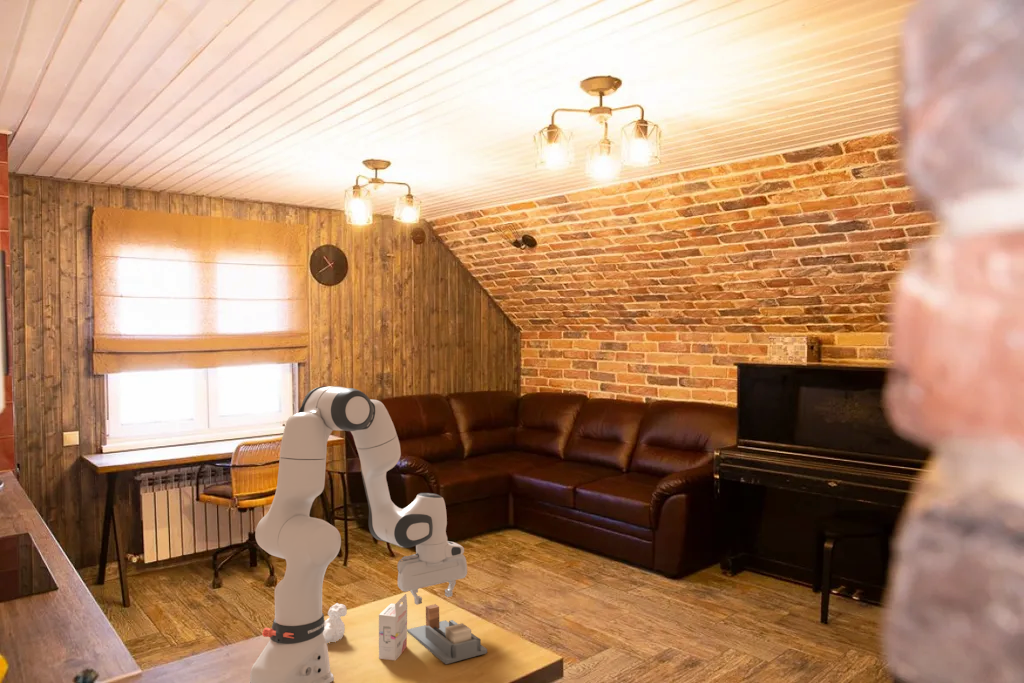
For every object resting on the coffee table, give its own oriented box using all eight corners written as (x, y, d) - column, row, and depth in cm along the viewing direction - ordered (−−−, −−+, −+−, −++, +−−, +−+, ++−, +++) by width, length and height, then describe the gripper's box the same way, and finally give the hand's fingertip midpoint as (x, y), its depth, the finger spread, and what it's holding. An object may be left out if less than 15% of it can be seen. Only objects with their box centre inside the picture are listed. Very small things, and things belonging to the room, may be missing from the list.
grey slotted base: (487, 652, 193) (486, 637, 193) (445, 664, 187) (445, 648, 187) (445, 623, 214) (445, 609, 214) (407, 633, 207) (406, 618, 207)
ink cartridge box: (389, 646, 198) (390, 591, 198) (407, 648, 197) (408, 593, 197) (377, 659, 190) (378, 602, 190) (395, 662, 189) (396, 604, 189)
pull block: (471, 648, 193) (471, 625, 193) (454, 653, 190) (454, 629, 190) (438, 624, 209) (438, 603, 209) (422, 628, 207) (422, 607, 207)
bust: (328, 658, 197) (355, 625, 197) (305, 641, 196) (332, 608, 197) (336, 639, 209) (361, 608, 209) (315, 623, 208) (340, 591, 209)
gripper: (402, 560, 199) (403, 611, 199) (469, 546, 210) (470, 595, 210) (392, 555, 204) (394, 604, 205) (458, 541, 215) (460, 588, 215)
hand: (433, 599), depth 207 cm, fingers open, 8 cm apart
